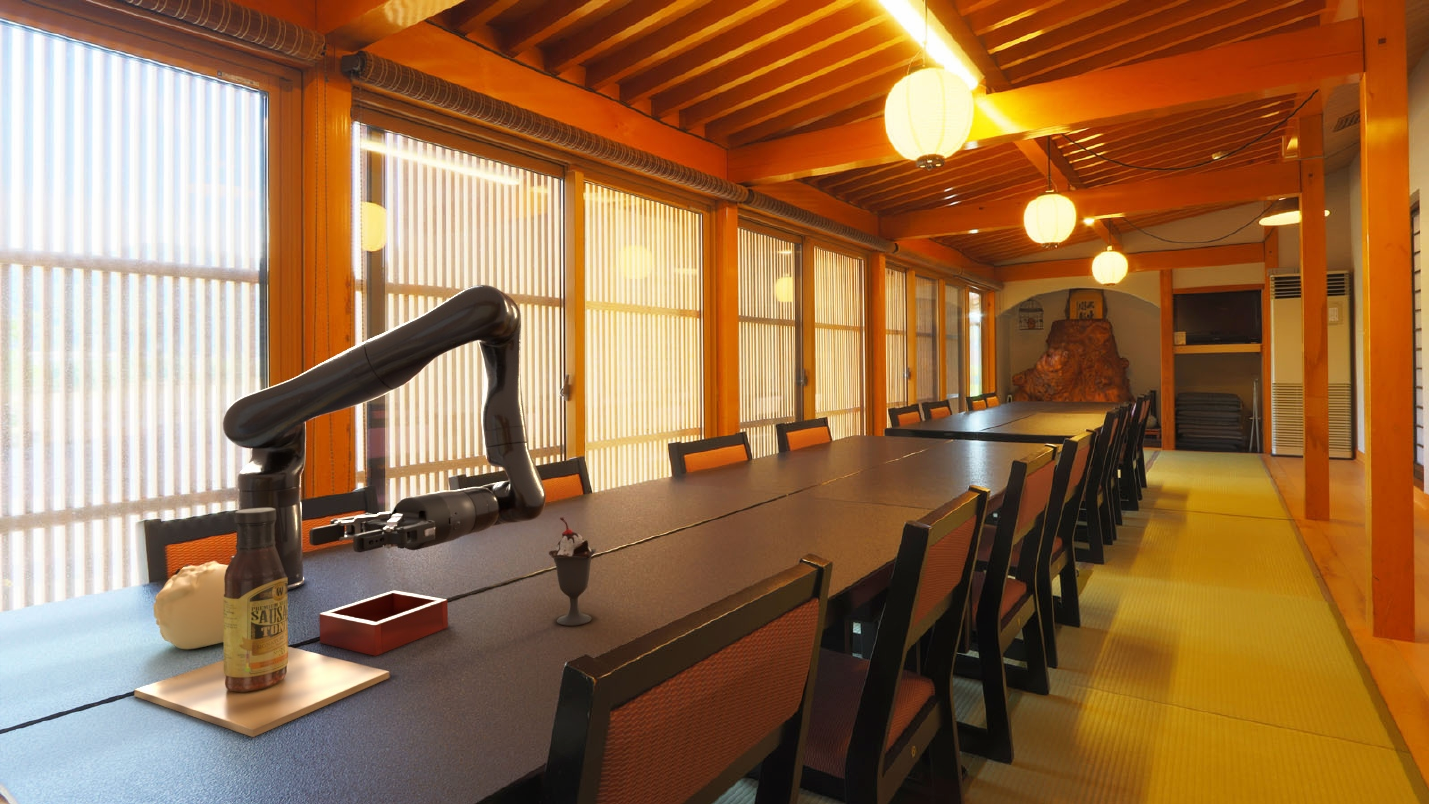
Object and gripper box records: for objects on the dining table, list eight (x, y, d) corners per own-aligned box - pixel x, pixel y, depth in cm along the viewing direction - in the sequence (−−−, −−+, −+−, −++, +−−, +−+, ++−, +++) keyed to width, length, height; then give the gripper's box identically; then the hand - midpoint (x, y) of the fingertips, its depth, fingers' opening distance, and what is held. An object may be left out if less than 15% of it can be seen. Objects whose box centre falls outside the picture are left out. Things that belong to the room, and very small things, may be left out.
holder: (319, 643, 99) (318, 613, 99) (394, 616, 110) (393, 590, 109) (375, 656, 94) (374, 625, 94) (448, 627, 105) (447, 599, 105)
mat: (134, 696, 83) (133, 689, 83) (274, 649, 97) (274, 643, 97) (253, 737, 73) (252, 729, 73) (389, 678, 87) (389, 671, 87)
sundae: (553, 614, 110) (551, 514, 109) (598, 612, 111) (597, 513, 110) (547, 629, 103) (545, 523, 103) (595, 627, 104) (593, 521, 103)
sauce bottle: (258, 697, 80) (252, 516, 80) (210, 693, 81) (203, 514, 81) (303, 673, 87) (298, 505, 86) (257, 670, 88) (252, 504, 87)
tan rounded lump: (168, 634, 103) (165, 558, 103) (267, 622, 108) (265, 549, 107) (142, 663, 92) (139, 578, 92) (253, 648, 97) (250, 567, 97)
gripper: (400, 489, 110) (296, 507, 96) (470, 496, 104) (370, 515, 89) (401, 539, 110) (297, 564, 96) (471, 549, 104) (371, 577, 89)
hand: (332, 540), depth 92 cm, fingers open, 8 cm apart
